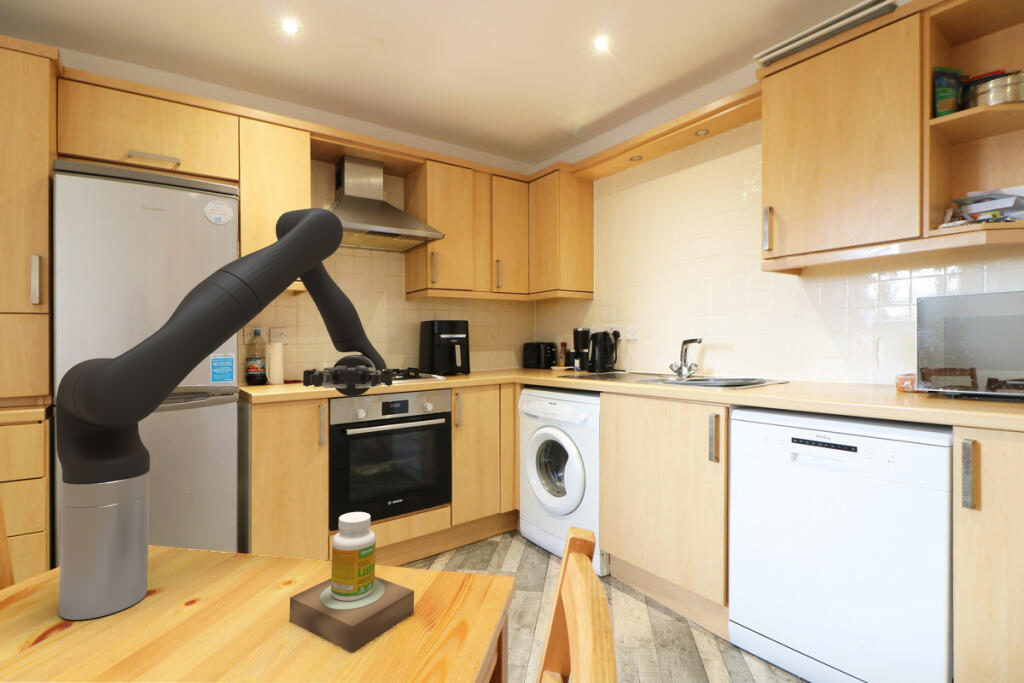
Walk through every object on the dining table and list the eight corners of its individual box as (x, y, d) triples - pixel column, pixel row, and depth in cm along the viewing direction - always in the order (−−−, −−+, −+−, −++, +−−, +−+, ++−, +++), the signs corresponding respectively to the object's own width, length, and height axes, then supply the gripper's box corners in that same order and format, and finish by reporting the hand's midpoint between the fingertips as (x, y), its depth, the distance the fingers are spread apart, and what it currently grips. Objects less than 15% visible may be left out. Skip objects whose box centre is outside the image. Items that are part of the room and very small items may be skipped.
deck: (289, 620, 62) (290, 595, 62) (352, 588, 71) (353, 566, 71) (352, 652, 56) (352, 624, 56) (413, 613, 64) (414, 589, 64)
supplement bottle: (360, 604, 60) (363, 525, 60) (321, 598, 61) (324, 521, 61) (381, 584, 65) (383, 512, 66) (345, 579, 67) (347, 508, 67)
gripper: (315, 354, 91) (297, 355, 75) (393, 355, 94) (392, 356, 78) (314, 394, 91) (296, 404, 75) (393, 394, 94) (391, 403, 78)
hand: (345, 379), depth 76 cm, fingers open, 8 cm apart
